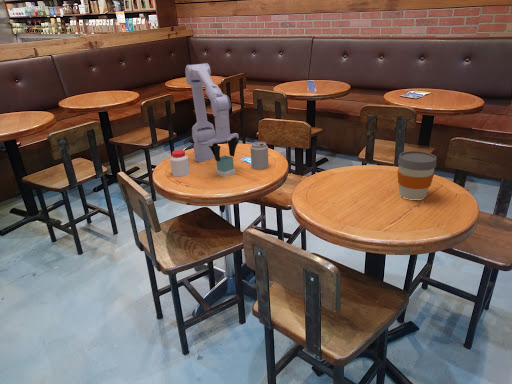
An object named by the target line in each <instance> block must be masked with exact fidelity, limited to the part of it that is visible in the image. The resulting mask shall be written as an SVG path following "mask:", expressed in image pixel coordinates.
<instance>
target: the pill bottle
mask: <svg viewBox="0 0 512 384" xmlns="http://www.w3.org/2000/svg"><path fill="white" fill-rule="evenodd" d="M169 162H170V170H171V175H172V176H173V177H176V178H177V177H179V178H181V177H186V176H188V175H190V174H191V169H190V159H189V156H188V155H187V154H186V151H185V150H184V149H175V150H172V152H171V157H170V158H169Z"/></svg>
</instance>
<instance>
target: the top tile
mask: <svg viewBox="0 0 512 384" xmlns="http://www.w3.org/2000/svg"><path fill="white" fill-rule="evenodd" d="M236 173H237V170H236V169H235V168H234V169H232V170H230V171H227V172H223V171H220V170H217V168H216V169H215V174H216V175H217V176H221V177H223V178H226V177H229V176H233V175H235V174H236ZM236 175H237V174H236Z"/></svg>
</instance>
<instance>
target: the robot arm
mask: <svg viewBox="0 0 512 384" xmlns="http://www.w3.org/2000/svg"><path fill="white" fill-rule="evenodd" d="M184 73H185V79H186V83H187V85H188V86H190V87H191V88H190V89H191V91H192V92H191V93H192V100H193V105H194V106H193V107H194V111H195V117H196V122H195V124H194V125H192V128H191V132H192V133H191V136H192V137H191V138H192V140H193V142H194V143H193V154H194V158H193V161H196V162H197V163H203V162H206V161H212V160H215V161H220V157H221V155H220V154H221V146H220V145H219V144H222V143H224V142H227V146H228V154H229V157H232V158H234V157H235V154H236V148H237V146H238V144H239V141H240V140H239V133H236V132H234V133H231V128H230V118H229V117H230V116H229V115H230V114H229V111H230V109H231V107H232V106H231V105H232V104H231V99H230V98H229V97H230V96H228V95H226V94H224V93H223V92H222V90H221V89H220V86H219V85H218V84H216V83H214V82H213V80H212V77H211V75H212V70H211V66H210V64H209V63H208V62H204V63H197V64H187V65H186V67H185V70H184ZM203 87H204V88H205V93H204V89H203ZM205 94H206V96H207V97H208V99H209V101H210V106H211V107H210V108H211V110H212V115H213V116H214V124H213V123H211V122H210V121H208V116H207V109H206V103H205ZM214 126H215V127H214Z"/></svg>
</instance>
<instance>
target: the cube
mask: <svg viewBox="0 0 512 384" xmlns="http://www.w3.org/2000/svg"><path fill="white" fill-rule="evenodd" d="M215 161H216V160H215ZM216 169H217V170H220V171H223V172H227V171H230V170H232V169H235V168H234V157H232V156H230V155H225V154H224V155H222V156H220V161H216Z"/></svg>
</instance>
